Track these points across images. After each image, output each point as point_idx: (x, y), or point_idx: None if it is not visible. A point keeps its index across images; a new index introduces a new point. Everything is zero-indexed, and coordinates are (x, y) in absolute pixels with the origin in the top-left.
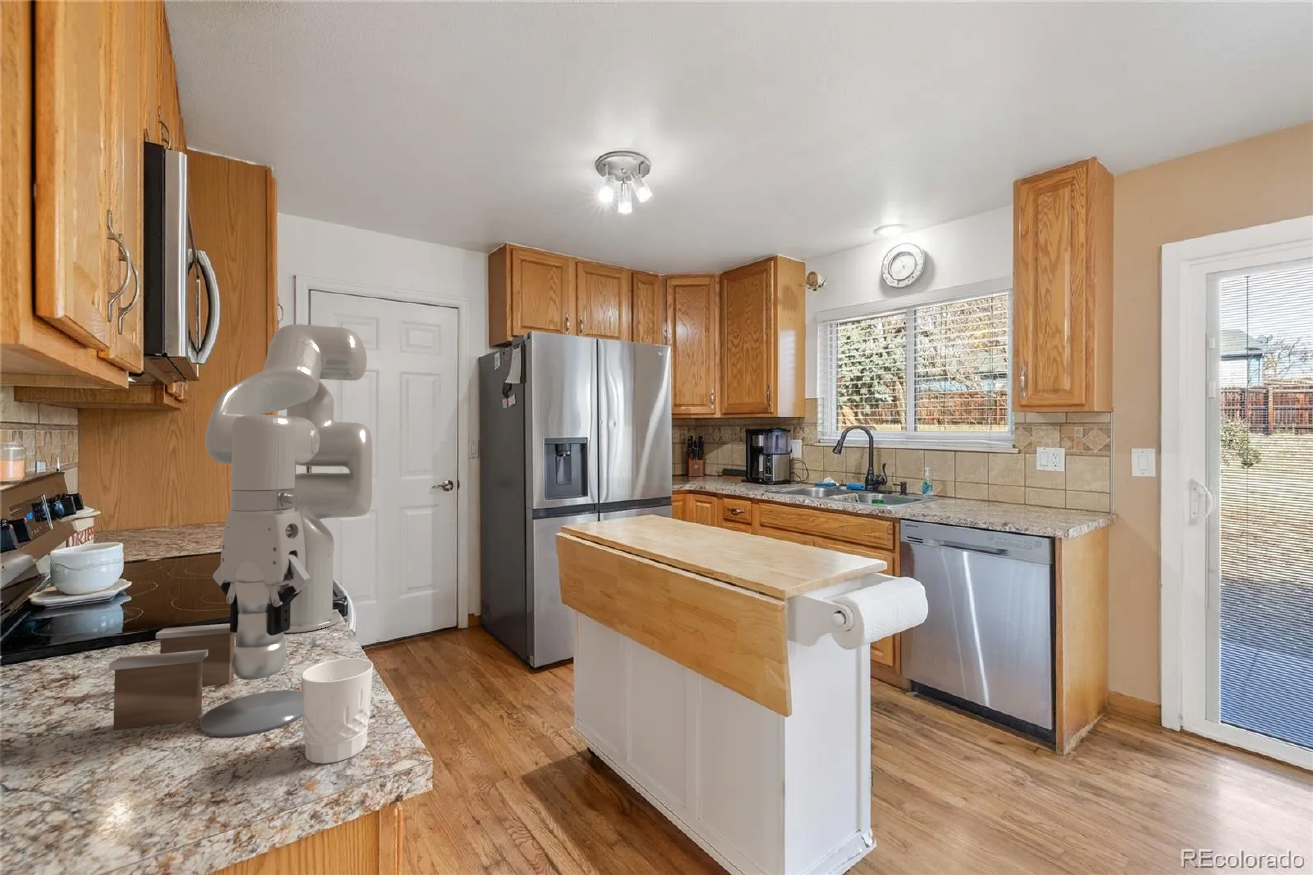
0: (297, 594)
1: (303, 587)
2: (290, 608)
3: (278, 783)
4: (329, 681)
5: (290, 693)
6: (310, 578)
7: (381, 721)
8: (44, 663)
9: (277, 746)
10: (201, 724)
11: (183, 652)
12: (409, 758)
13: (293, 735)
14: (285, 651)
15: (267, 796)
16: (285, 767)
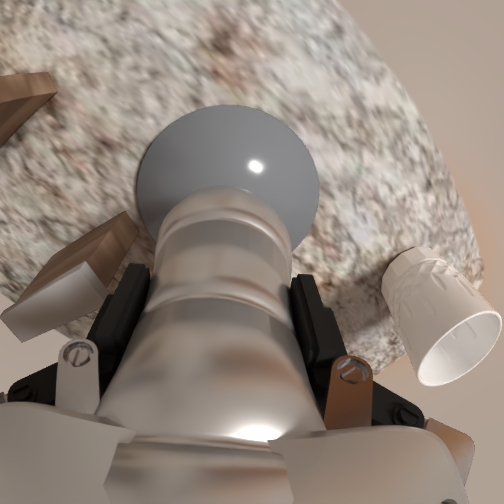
0: (397, 398)
1: (435, 426)
2: (329, 325)
3: (376, 335)
4: (455, 379)
5: (234, 120)
6: (473, 448)
7: (443, 201)
8: None
9: (335, 281)
10: None
11: (53, 290)
12: (479, 278)
13: (340, 253)
14: (288, 239)
15: (375, 350)
16: (370, 315)
